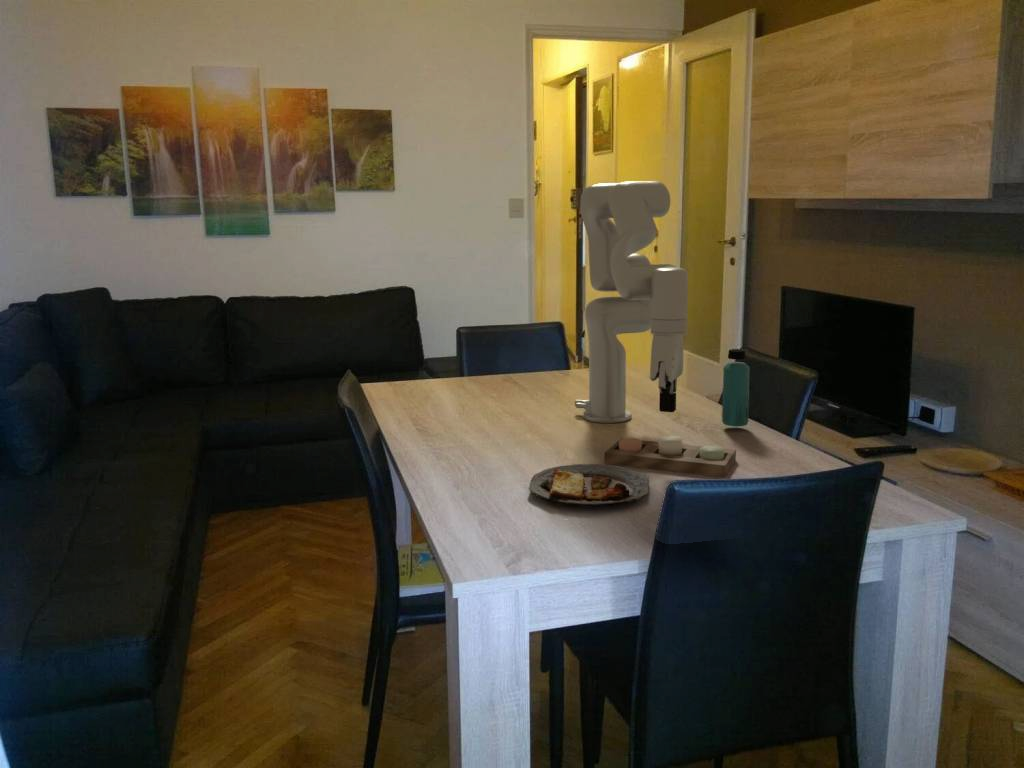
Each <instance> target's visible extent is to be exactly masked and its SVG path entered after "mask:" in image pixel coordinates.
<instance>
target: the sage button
mask: <svg viewBox="0 0 1024 768" xmlns="http://www.w3.org/2000/svg"><path fill="white" fill-rule="evenodd" d="M724 449H725V448H724ZM724 449H723V447H721V446H717V445H704V447H701V448H700V458H701V459H710V460H720V461H723V460H724Z"/></svg>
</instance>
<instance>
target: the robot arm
mask: <svg viewBox="0 0 1024 768" xmlns="http://www.w3.org/2000/svg"><path fill="white" fill-rule="evenodd" d="M579 204H580V208H579V209H580V215H581V219H582V223H583V225H584V227H585V228H584V229H585V231H586V234H587V235H586V236H587V240H588V262H589V280H590V285H591V287H592V289H593V290H594V291H598V292H605V293H607V292H608V293H610V292H611V293H613V292H617V293H618V294H619V296H607V297H606V296H603V297H599V298H594V299H591V301H589V302H588V304H587V305H586V307H585V311H584V312H585V313H584V315H585V323H586V329H587V336H588V337H587V338H588V367H589V368H588V369H589V370H588V372H589V373H588V377H589V378H588V382H589V383H588V384H589V385H588V387H589V388H588V389H589V390H588V392H589V393H588V394H589V395H588V399H587V398H586V400H583V399H579V398H578V399H577V398H576V399H575V401H574V406H575V408H576V409H584V411H583V413H582V415H583V418H584V419H585V420H587V421H589V422H593V423H600V424H601V423H603V424H604V423H605V424H607V423H609V424H612V423H613V424H614V423H622V422H627V421H629V420H630V419H632V412H631V410H627V409H626V406H627V405H626V400H627V398H626V395H627V394H626V393H627V392H626V390H627V389H626V387H627V386H626V385H627V383H626V381H627V378H626V377H627V352H626V348H625V346H624V345H623V343H622V342H621V341H620V340H619V338H618V337H617V335H622V334H637V333H641V334H642V333H645V332H647V331H649V330H650V334H651V335H653V336H652V341H651V350H650V364H649V365H650V366H649V379H650V381H651V382H654V381H656V380H658V383H657V385H658V389H659V391H658V392H659V403H658V404H659V407H658V408H659V411H660V412H664V413H674V412H675V411H676V410H677V382H678V378H679V377H680V376H682V375H683V371H684V336H685V335H687V333H688V293H689V291H688V290H689V289H688V287H689V285H688V283H689V276H688V271H687V270H686V269H685V268H682V267H678V266H675V265H673V264H670V263H669V264H667V263H664V264H662V263H661V264H652V263H651V262H650V260H649V258H648V257H647V256H646V255H645V254H642V253H637V252H639V251H642V250H644V249H645V248H647V247H648V246H649V245H651V244H652V243H653V242H654V240H656V237H657V234H658V227H657V225H656V222H655V218H662V217H664V216H666V215H667V214H668V213H669V211H670V207H671V194H670V191H669V189H668V188H667V186H666V185H665V183H663V182H661V181H658V180H647V181H645V180H639V181H638V180H635V181H634V180H633V181H632V180H631V181H622V182H607V183H596V184H592V185H588V186H587V187H586V188H584V189H583V191H582V193H581V196H580V203H579ZM612 219H613V220H612Z"/></svg>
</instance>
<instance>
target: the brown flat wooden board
mask: <svg viewBox="0 0 1024 768" xmlns="http://www.w3.org/2000/svg"><path fill="white" fill-rule="evenodd" d="M620 439H624V438H623V437H622V438H620ZM620 439H619V440H620ZM619 440H617V441H616V442H615V443H614V444H613V445H611V446H610V447H609V448H608V449H606V451H604V461H603V462H604V463H603V464H604V465H607V464H608V465H613V466H624V467H633V468H634V467H635V468H643V469H650V470H651V469H652V470H659V471H666V472H667V471H668V472H669V471H670V472H676V473H686V474H693V475H695V474H696V475H703V476H711V477H713V476H714V477H719V476H722V477H723V478H725V477H726V476H727V475H728V473H729V472H730V470H731V468H732V467H733V465H734V464H735V462H736V461H737V460H736V459H737V450H736V449H731V448H723V447H722V448H723V449H724V460H723V461H720V460H710V459H701V458H700V448H701V447H704V446H705V445H704V446H702V445H694V444H693V445H692V444H683V443H682V455H681V456H673V455H663V454H659V441H654V440H653V441H652V440H643V439H640V440H641V441H642V450H641V451H640V452H635V451H626V450H619ZM722 477H721V478H722Z"/></svg>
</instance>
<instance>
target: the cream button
mask: <svg viewBox="0 0 1024 768" xmlns="http://www.w3.org/2000/svg"><path fill="white" fill-rule="evenodd" d="M658 442H659V454H663V455H673V456H681V455H682V444H683V438H682V436H678V435H661V436H660V437H658Z"/></svg>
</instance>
